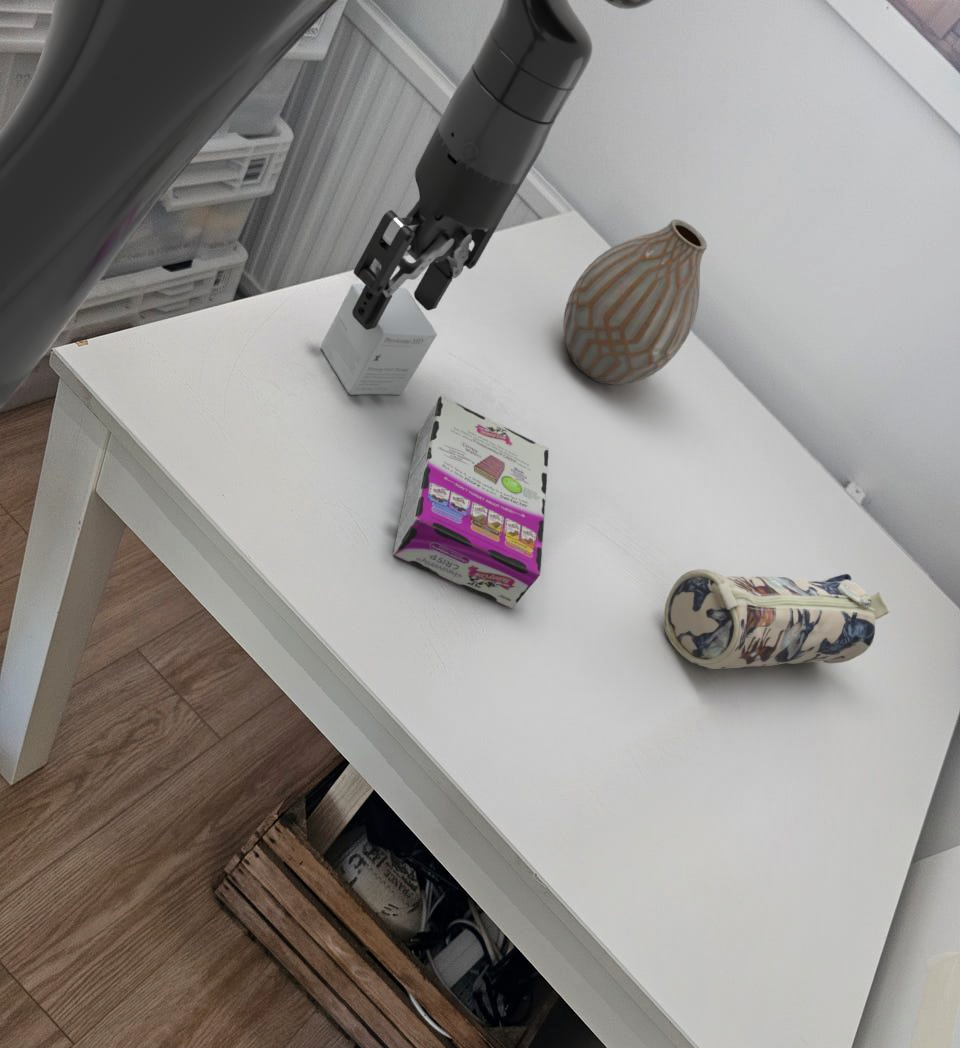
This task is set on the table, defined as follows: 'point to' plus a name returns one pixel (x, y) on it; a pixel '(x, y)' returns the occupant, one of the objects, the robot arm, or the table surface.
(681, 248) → the vase
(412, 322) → the product box
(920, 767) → the table surface
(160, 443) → the table surface
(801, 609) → the pencil case
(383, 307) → the robot arm
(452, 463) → the candy bar box
